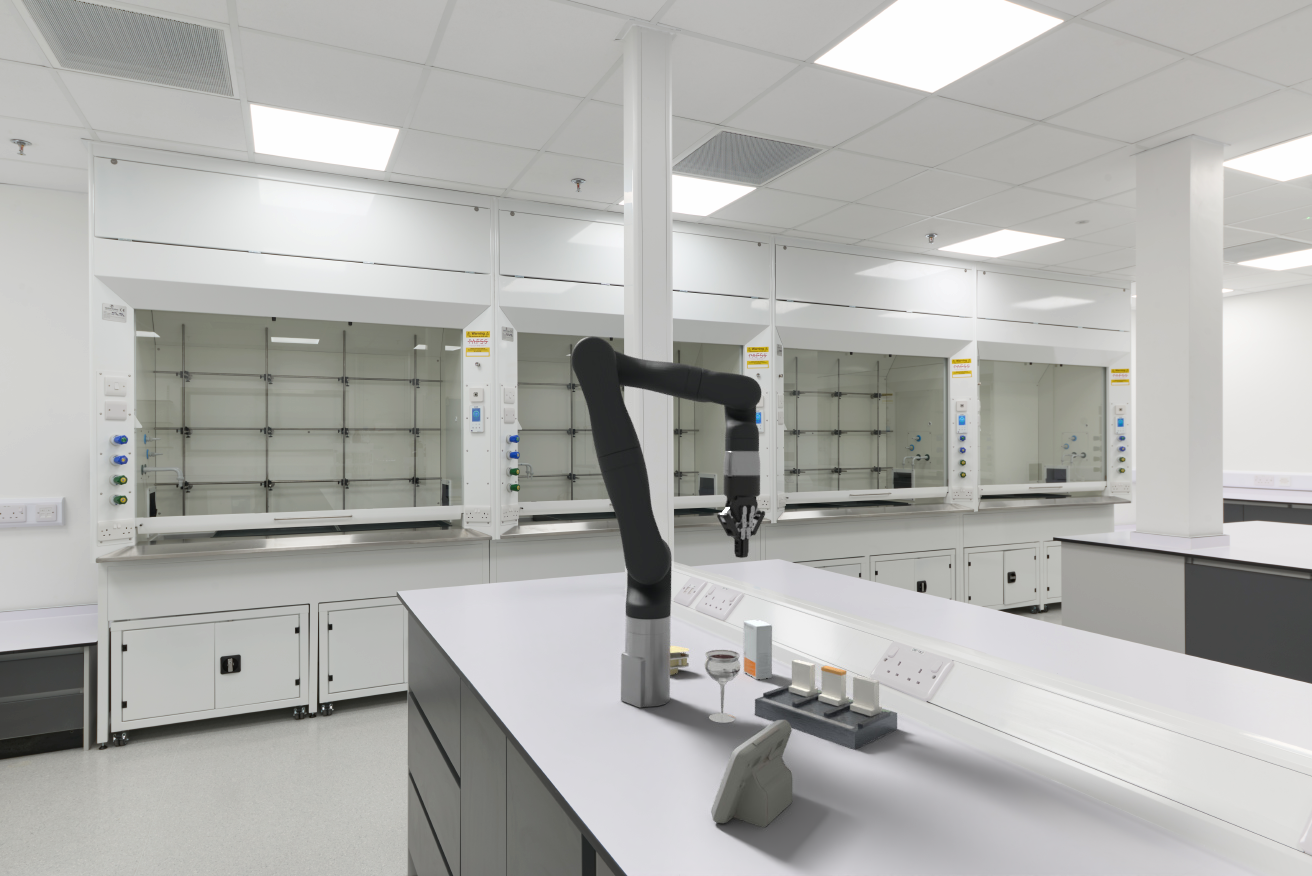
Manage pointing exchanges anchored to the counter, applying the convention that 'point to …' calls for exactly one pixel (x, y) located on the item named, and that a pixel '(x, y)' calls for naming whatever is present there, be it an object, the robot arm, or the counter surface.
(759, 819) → the digital clock
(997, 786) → the counter surface
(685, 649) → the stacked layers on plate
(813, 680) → the breaker handle left
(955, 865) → the counter surface
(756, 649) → the skincare box
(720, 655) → the wineglass
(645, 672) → the robot arm
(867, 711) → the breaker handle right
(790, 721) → the breaker panel
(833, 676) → the breaker handle
